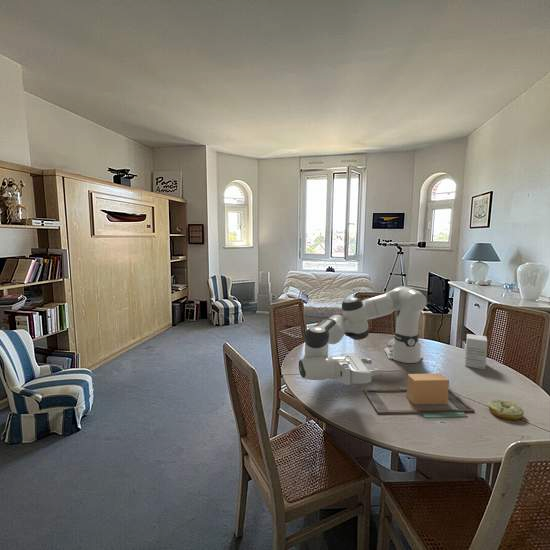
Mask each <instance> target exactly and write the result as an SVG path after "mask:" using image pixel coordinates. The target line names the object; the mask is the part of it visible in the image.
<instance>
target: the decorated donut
mask: <svg viewBox="0 0 550 550" xmlns="http://www.w3.org/2000/svg"><path fill="white" fill-rule="evenodd" d="M487 405H488V408H489V409H488V410H489V411H490V413H491V414H492V415H493V414H494V416H496V417H498V418H502V419H504V420H512V421H517V420H521V418H522V417H524V413H525V411H524V409H523V408H522V406H519V405H518V404H517V403H514V402H513V401H510V400H506V399H493V400H491V401H489V402H488V404H487Z"/></svg>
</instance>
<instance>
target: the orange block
mask: <svg viewBox="0 0 550 550" xmlns="http://www.w3.org/2000/svg"><path fill="white" fill-rule="evenodd" d="M406 380H407V381H406V386H407V392H406V396H405V397H406V398H407V400H409V401H410V403H411V402H412V403H413V404H412V403H411V404H412V405H441V404H443V405H444V404H445V405H447V404H448V403H449V400H448V390H449V389H450V387H449V386H450V379H448V378H447V377H446V376H445V375H444V374H442V373H407V377H406Z"/></svg>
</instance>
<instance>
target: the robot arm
mask: <svg viewBox="0 0 550 550" xmlns="http://www.w3.org/2000/svg"><path fill="white" fill-rule="evenodd" d="M427 302H428V301H427V298H426V296H425V295H424V294H423V293H422V292H421V291H420V290H417V289H414V288H412V287H409V286H405V285H401V286H396V287H395V288H394V289H392V290H390V291H388V292H385V293H383V294H378V295H376V296H373V297H369V298H366V299H363V300H361V299H360V298H358V297H355V296H354V297H349V298H345V299H344V300H343V301H342V302H341V310H342V315H340V314H334V315H332V316H330V317H328V318H324V319H322V320H320V321H319V322H318V323H317V324H315V325H313V326H311V327H309V328H308V329H306V330H305V331H304V332H303V333H304V335H303V336H304V356H303V358H301V359H299V361H298V371H299V375H300V377H301V378H302V379H304V380H309V381H325V380H329V379H330V380H332V381H333V380H337V381H339V382H341V383H342V384H344V385H346V386H349V385H351V384H353V385H354V384H356V385H357V384H358V385H359V384H367V383H370V382H372V378H373V377H374V376H375V375H380V374H381V369H379V368H376V367H375V368H374V369H369V368H368V367H367V366H366V364H367V365H372V363H373V362H372V361H373V360H372V359H371V358H365V357H360V356H359V355H358V354H357V353H355V352H354V353H353V352H352V353H343V354H340V355H333V356H329V345H336V344H338V343H340V341H342V339H343V338H344V336H346V337H348V338H350V339H352V340H355V341H361V340H364V339H366V338H368V337H369V334H370V328H369V324H368V323H369V322H368V321H369V320H372V319H377V318H381V317H384V316H388V315H391V314H392V313H393V312H394V311H397V310H399V309H400V310H399V314H398V316H396V319H395V321H396V322H395V330H394V335H393V338H391V340H389V342H388V343H387V346H386V347H384V349H383V350H384V352H386V353H385V354H387V355H386V356H387V359H388V360H392V359H393V361H396V362H401V363H403V364H404V363H407V364H414V363H419V362H420V361H421V360H422V359H424V358H423V355H421V354H422V353H421V350H422V349H421V343H420V342H419V337H420V335H419V320H420V316H421V313H422V311H423V310H424V309H425V307H427V304H428V303H427Z"/></svg>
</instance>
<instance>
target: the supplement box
mask: <svg viewBox="0 0 550 550" xmlns="http://www.w3.org/2000/svg"><path fill="white" fill-rule="evenodd" d="M487 352H488V338H487V336H486V335H479V334H478V335H477V334H473V333H472V334H471V333H466V343H465V357H464V359H465V360H464V362H465V363H464V366H465V367H469V368H474V369H481V370H486V367H487V366H486V365H487Z"/></svg>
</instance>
